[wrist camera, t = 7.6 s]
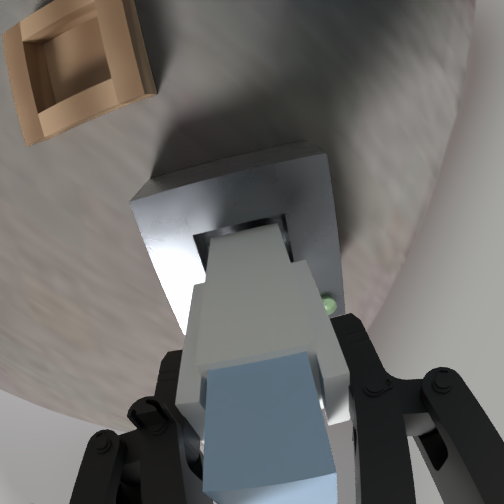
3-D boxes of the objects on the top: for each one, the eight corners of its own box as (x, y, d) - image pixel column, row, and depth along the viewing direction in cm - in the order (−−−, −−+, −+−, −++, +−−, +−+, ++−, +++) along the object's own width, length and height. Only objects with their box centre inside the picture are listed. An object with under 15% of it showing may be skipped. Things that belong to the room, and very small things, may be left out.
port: (195, 305, 24) (190, 351, 19) (149, 179, 19) (127, 204, 15) (327, 276, 23) (347, 317, 19) (306, 140, 19) (329, 154, 14)
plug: (228, 292, 19) (230, 521, 7) (210, 238, 17) (185, 487, 6) (289, 279, 19) (347, 503, 7) (277, 222, 17) (350, 464, 5)
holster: (50, 138, 17) (26, 146, 15) (27, 38, 14) (2, 34, 11) (157, 94, 17) (144, 94, 14) (130, -15, 13) (115, -30, 10)
